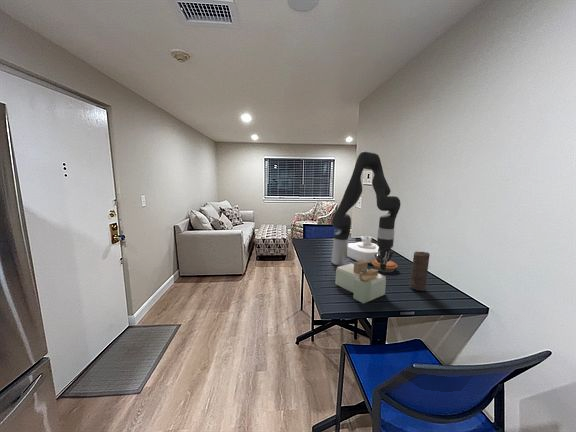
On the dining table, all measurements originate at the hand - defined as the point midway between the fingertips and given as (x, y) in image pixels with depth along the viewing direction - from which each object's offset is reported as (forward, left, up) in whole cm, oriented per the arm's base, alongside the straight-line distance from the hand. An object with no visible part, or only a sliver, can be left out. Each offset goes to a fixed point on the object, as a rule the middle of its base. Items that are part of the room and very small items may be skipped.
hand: (382, 270), depth 127 cm
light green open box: (-8, -9, -11) cm, 17 cm away
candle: (+9, +19, -12) cm, 24 cm away
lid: (-8, -7, -3) cm, 11 cm away
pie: (-18, +30, -12) cm, 37 cm away
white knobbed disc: (-41, +41, -12) cm, 59 cm away
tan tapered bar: (0, -11, -1) cm, 11 cm away
